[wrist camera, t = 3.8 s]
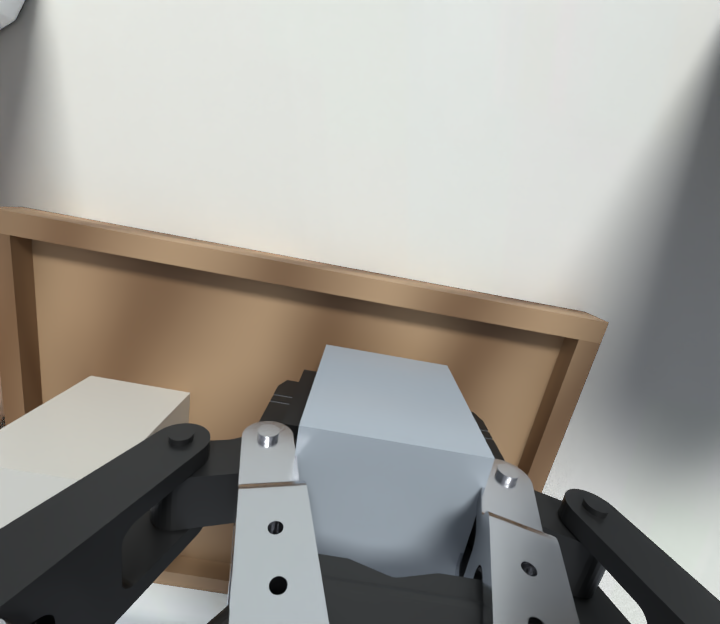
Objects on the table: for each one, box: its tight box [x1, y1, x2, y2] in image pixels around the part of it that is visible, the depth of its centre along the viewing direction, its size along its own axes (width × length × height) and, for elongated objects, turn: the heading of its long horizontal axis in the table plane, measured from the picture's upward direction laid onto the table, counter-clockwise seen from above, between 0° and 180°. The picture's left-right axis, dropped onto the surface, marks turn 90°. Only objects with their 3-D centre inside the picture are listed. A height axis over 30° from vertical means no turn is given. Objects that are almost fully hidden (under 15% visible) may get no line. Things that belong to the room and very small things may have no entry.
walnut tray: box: [0, 207, 608, 594], centre depth 15 cm, size 22×16×1 cm
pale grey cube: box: [0, 376, 190, 528], centre depth 12 cm, size 4×4×5 cm
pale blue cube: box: [295, 344, 495, 578], centre depth 11 cm, size 4×4×5 cm
